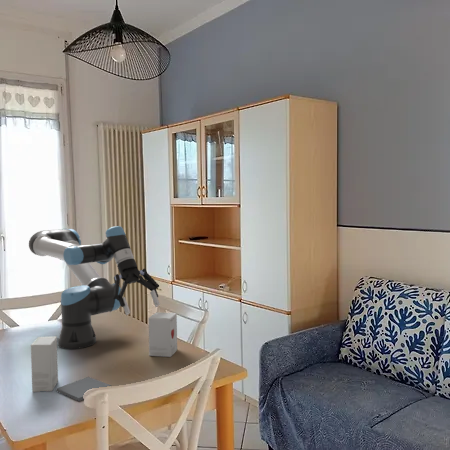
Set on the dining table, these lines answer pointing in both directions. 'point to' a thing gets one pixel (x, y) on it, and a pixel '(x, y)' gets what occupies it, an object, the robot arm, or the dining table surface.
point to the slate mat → (80, 387)
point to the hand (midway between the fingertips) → (143, 309)
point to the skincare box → (44, 364)
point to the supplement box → (162, 334)
